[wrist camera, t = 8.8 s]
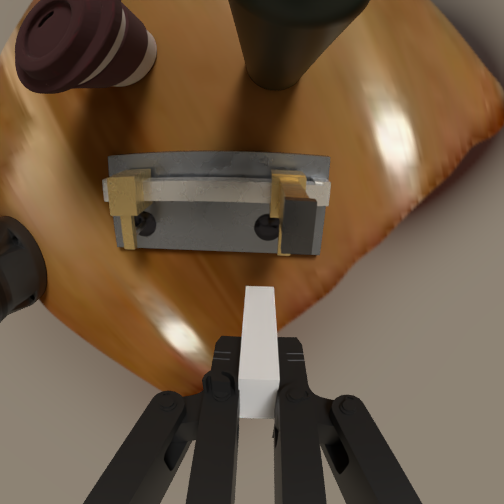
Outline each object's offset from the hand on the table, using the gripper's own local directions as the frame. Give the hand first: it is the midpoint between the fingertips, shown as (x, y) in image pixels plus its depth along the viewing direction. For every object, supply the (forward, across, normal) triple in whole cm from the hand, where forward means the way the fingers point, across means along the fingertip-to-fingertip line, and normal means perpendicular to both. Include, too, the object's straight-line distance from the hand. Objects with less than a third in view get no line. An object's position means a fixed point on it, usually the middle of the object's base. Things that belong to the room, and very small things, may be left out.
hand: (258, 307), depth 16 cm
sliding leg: (+16, +2, +2) cm, 16 cm away
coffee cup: (+18, -15, +18) cm, 30 cm away
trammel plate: (+17, -5, +1) cm, 18 cm away
